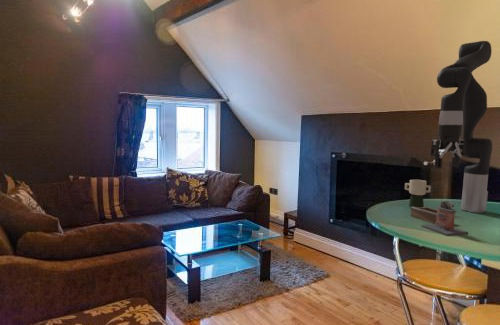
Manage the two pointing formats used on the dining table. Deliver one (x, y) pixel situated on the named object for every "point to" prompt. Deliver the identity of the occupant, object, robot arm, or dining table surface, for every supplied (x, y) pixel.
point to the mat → (444, 232)
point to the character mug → (417, 192)
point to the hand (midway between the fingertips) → (447, 167)
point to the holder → (424, 214)
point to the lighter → (445, 216)
